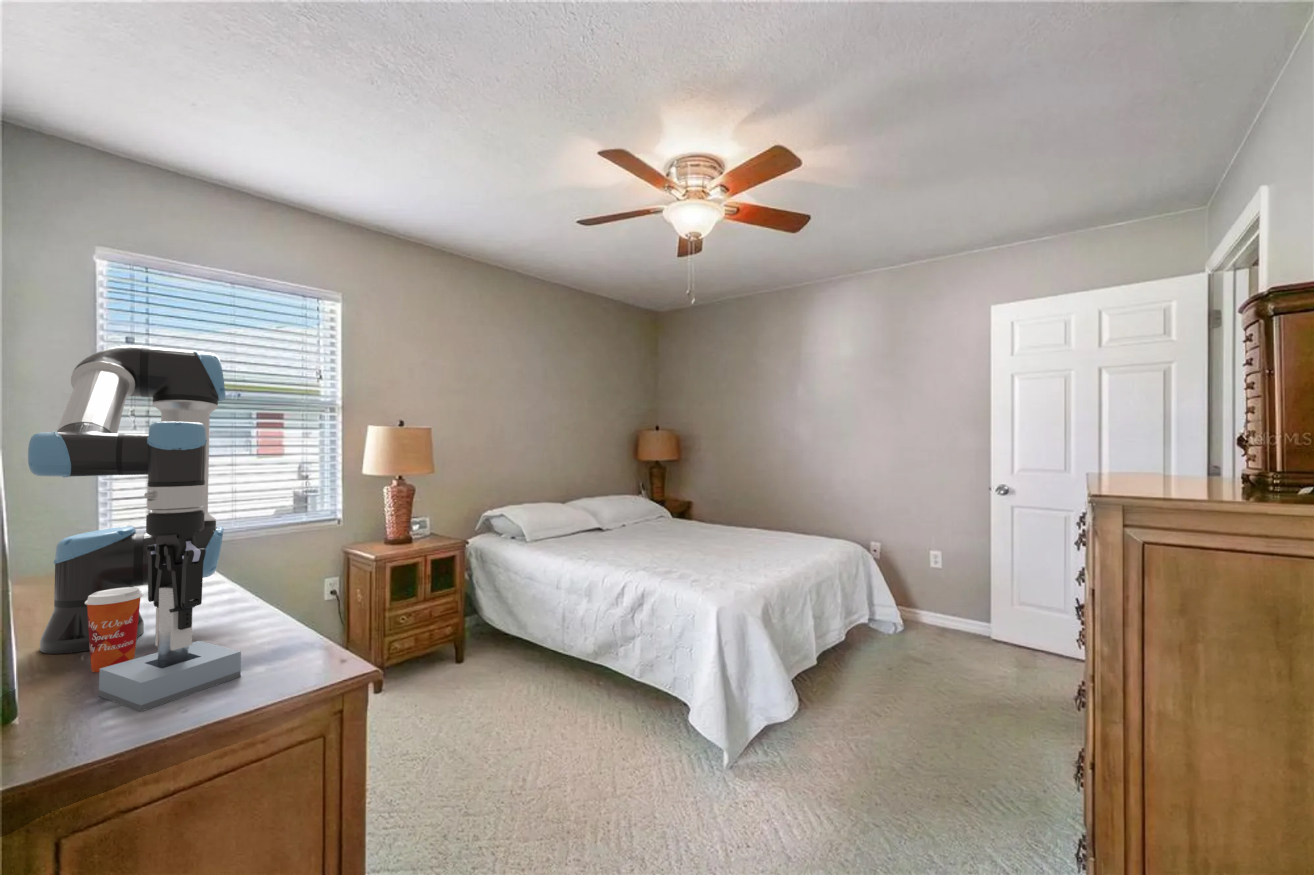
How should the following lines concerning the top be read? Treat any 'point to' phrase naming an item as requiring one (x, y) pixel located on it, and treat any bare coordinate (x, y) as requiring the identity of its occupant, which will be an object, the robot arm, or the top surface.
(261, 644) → the top surface
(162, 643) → the pin
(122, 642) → the paper cup
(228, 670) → the socket block
